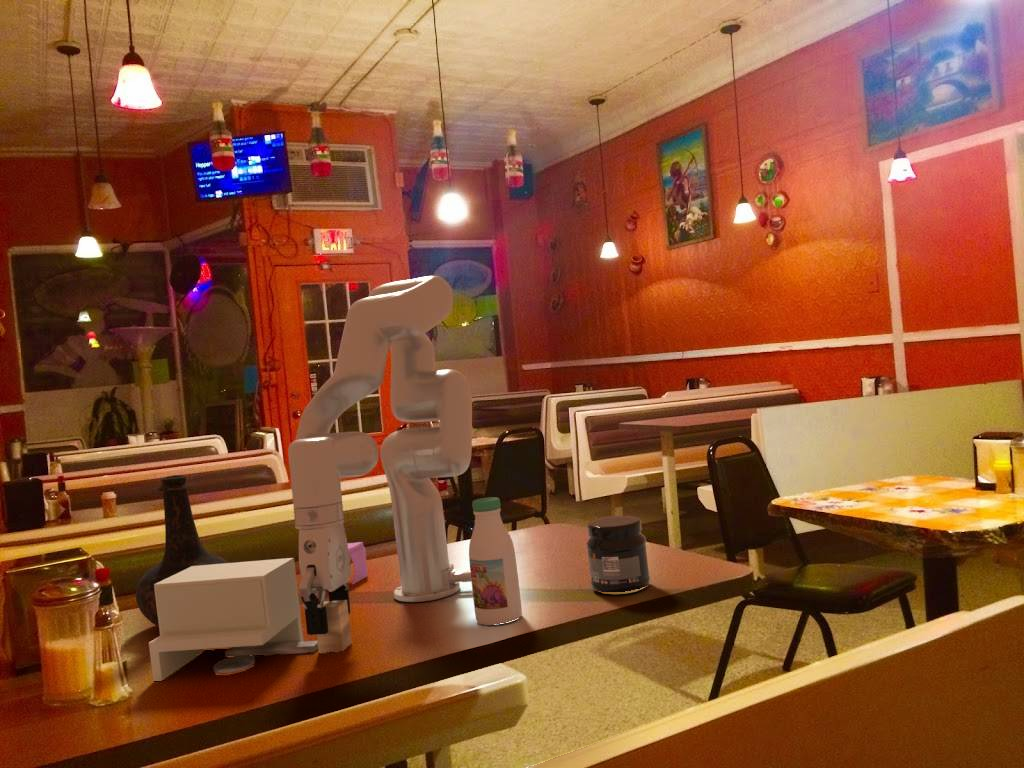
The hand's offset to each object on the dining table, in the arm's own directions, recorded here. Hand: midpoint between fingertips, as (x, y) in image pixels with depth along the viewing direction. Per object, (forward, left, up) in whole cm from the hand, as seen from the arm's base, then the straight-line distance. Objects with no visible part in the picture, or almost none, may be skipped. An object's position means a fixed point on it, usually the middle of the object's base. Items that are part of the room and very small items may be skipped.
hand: (329, 624), depth 126 cm
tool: (+8, -1, -4) cm, 9 cm away
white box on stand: (+16, +2, -4) cm, 17 cm away
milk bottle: (-25, -10, -4) cm, 27 cm away
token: (+14, +5, -4) cm, 15 cm away
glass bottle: (+36, -21, -4) cm, 42 cm away
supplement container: (-45, -23, -4) cm, 51 cm away
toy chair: (+14, -44, -4) cm, 46 cm away
